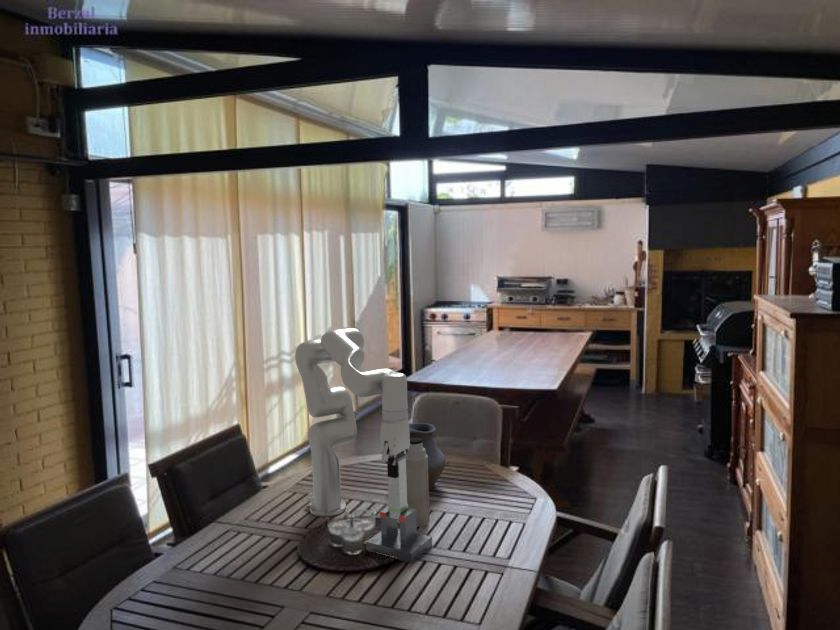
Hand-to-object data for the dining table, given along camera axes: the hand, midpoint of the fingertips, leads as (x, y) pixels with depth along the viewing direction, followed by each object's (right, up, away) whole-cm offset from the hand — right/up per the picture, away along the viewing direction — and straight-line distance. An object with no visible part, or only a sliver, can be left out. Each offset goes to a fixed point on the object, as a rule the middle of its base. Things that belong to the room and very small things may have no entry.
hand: (397, 474), depth 188 cm
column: (0, -13, +1) cm, 13 cm away
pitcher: (+6, -18, +51) cm, 55 cm away
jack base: (+1, -23, +2) cm, 23 cm away
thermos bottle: (+6, -21, +21) cm, 31 cm away
